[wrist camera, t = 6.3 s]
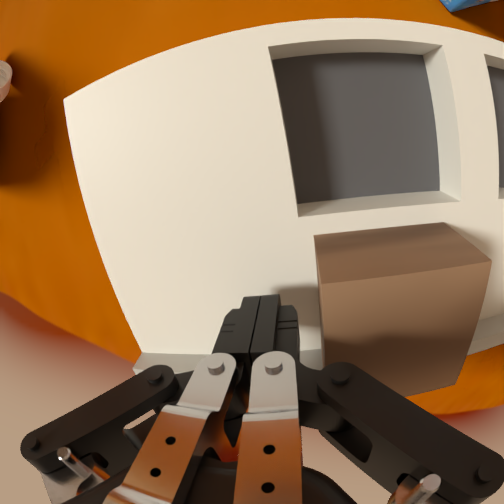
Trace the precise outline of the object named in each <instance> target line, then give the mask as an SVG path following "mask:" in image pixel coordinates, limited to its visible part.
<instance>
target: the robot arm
mask: <svg viewBox="0 0 504 504" xmlns="http://www.w3.org/2000/svg"><path fill="white" fill-rule="evenodd" d="M152 409H153V410H154V411H155V413H156V414H154V415H153V416H151V417H150V418H148V419H146V420H145V421H143V422H141V423H140V424H138V425H136V426H135V427H133V428H131V429H124V427H125V425H127V424H129V423H130V422H132V421H134V420H135V419H137V418H139V417H140V416H142V415H144V414H145V413H147V412H148V411H150V410H152ZM301 426H305V427H309V428H314V429H318V430H319V432H320V434H321V435H322V436H323V437H325V439H326V440H328V441H329V442H330V443H331V444H332V445H333V446H334V447H336V448H337V449H338V450H339V451H340V452H341V453H342V454H343V455H345V456H346V457H347V458H348V459H349V460H350V461H352V462H353V463H354V464H355V465H356V466H357V467H359V468H360V469H361V470H362V471H364V472H365V473H366V474H367V475H368V476H370V477H371V478H372V479H373V480H375V481H376V482H377V483H378V484H380V485H381V486H382V487H384V488H385V489H386V490H387V491H389V492H390V493H391V494H392V495H391V496H390V498H389V500H388V503H387V504H480V503H481V502H483V501H484V500H485V499H487V498H488V497H489V496H491V495H492V494H493V493H495V492H496V491H497V490H498V489H499V488H500V487H501V486H502V484H503V482H504V459H503V457H502V456H501V455H499V454H498V453H496V452H494V451H492V450H491V449H489V448H487V447H485V446H484V445H482V444H480V443H479V442H477V441H475V440H473V439H472V438H470V437H468V436H467V435H465V434H463V433H462V432H460V431H458V430H457V429H455V428H453V427H452V426H450V425H448V424H447V423H445V422H443V421H442V420H440V419H438V418H437V417H435V416H433V415H432V414H430V413H429V412H427V411H425V410H424V409H422V408H421V407H419V406H417V405H416V404H414V403H413V402H411V401H409V400H408V399H406V398H405V397H403V396H402V395H400V394H398V393H397V392H395V391H394V390H392V389H391V388H389V387H388V386H386V385H385V384H383V383H381V382H380V381H378V380H377V379H375V378H374V377H372V376H371V375H369V374H368V373H366V372H365V371H363V370H362V369H360V368H359V367H357V366H356V365H354V364H351V363H348V362H335V363H331V364H329V365H327V366H325V367H324V368H323V369H322V370H316V369H311V368H308V367H306V366H304V365H303V364H302V363H301V362H300V334H299V324H298V314H297V310H296V309H295V308H294V306H293V305H282V306H281V299H280V295H279V294H272V295H262V296H261V295H260V296H246V297H243V300H242V303H241V306H240V308H239V309H232V310H231V311H230V312H229V313H228V314H227V315H226V316H225V317H224V320H223V323H222V326H221V329H220V333H219V334H218V337H217V340H216V342H215V345H214V348H213V351H212V353H211V354H210V355H208V356H206V357H204V358H203V359H201V360H200V361H199V363H198V364H197V366H196V368H195V370H193V371H189V372H184V373H178V374H175V373H174V371H173V369H172V368H171V367H169V366H167V365H154V366H151V367H149V368H147V369H145V370H143V371H142V372H140V373H138V374H137V375H135V376H133V377H132V378H130V379H128V380H126V381H125V382H123V383H121V384H120V385H118V386H116V387H114V388H113V389H111V390H109V391H107V392H106V393H104V394H102V395H100V396H98V397H97V398H95V399H93V400H91V401H89V402H87V403H85V404H84V405H82V406H80V407H78V408H76V409H74V410H73V411H71V412H69V413H67V414H65V415H64V416H61V417H59V418H57V419H56V420H54V421H52V422H50V423H48V424H46V425H44V426H42V427H40V428H38V429H36V430H34V431H32V432H30V433H29V434H27V435H26V436H25V438H24V439H23V440H22V443H21V447H20V448H21V449H20V450H21V454H22V456H23V457H24V458H25V459H26V460H27V461H29V462H30V463H31V464H32V465H33V466H34V467H36V468H37V470H38V471H39V472H40V473H41V475H42V478H43V481H44V484H45V487H46V490H47V493H48V496H49V498H50V501H51V503H52V504H357V503H356V502H355V501H354V500H353V499H352V498H351V497H350V496H349V495H348V494H347V493H346V492H344V490H342V488H341V487H340V486H338V484H337V483H335V482H334V481H333V480H332V479H331V478H329V477H328V476H326V475H324V474H323V473H321V472H319V471H316V470H314V469H311V468H308V467H304V466H303V456H302V440H301V439H302V438H301Z"/></svg>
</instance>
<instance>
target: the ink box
mask: <svg viewBox="0 0 504 504" xmlns="http://www.w3.org/2000/svg"><path fill="white" fill-rule="evenodd" d="M440 1H441V2H442V3H443V4H444V6H445V7H446V8H447V9H448V10H449V11H450V12H455V11H458V10H461V9H465V8H468V7H472V6H476V5H480V4H484V3H488V2H492V1H497V0H440Z"/></svg>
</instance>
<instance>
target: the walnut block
mask: <svg viewBox="0 0 504 504" xmlns="http://www.w3.org/2000/svg"><path fill="white" fill-rule="evenodd" d="M313 236H314V246H315V257H316V269H317V282H318V296H319V312H320V330H321V350H322V364H323V368H324V367H325V366H327V365H329V364H331V363H335V362H348V363H351V364H354V365H356V366H357V367H359V368H360V369H362V370H363V371H365V372H366V373H368V374H369V375H371V376H372V377H374V378H375V379H377V380H378V381H380V382H381V383H383V384H385V385H386V386H388V387H389V388H391V389H392V390H394V391H395V392H397V393H398V394H400V395H402V396H403V397H406V396H411V395H415V394H420V393H424V392H428V391H432V390H436V389H440V388H444V387H447V386H451V385H455V383H456V381H457V379H458V376H459V374H460V371H461V369H462V366H463V364H464V361H465V359H466V356H467V353H468V351H469V348H470V345H471V342H472V339H473V336H474V333H475V330H476V327H477V323H478V320H479V316H480V313H481V309H482V305H483V302H484V298H485V293H486V289H487V285H488V280H489V275H490V270H491V265H492V260H491V259H490V258H488V257H487V256H486V255H485V254H484V253H482V252H481V251H480V250H479V249H478V248H476V247H475V246H474V245H473V244H472V243H470V242H469V241H468V240H466V239H465V238H464V237H463V236H461V235H460V234H459V233H457V232H456V231H455V230H454V229H452V228H451V227H450V226H448V225H447V224H445V223H444V222H439V223H428V224H418V225H407V226H397V227H387V228H377V229H367V230H357V231H347V232H338V233H328V234H319V235H313Z"/></svg>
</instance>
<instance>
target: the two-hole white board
mask: <svg viewBox="0 0 504 504" xmlns="http://www.w3.org/2000/svg"><path fill="white" fill-rule="evenodd" d="M63 100H64V108H65V115H66V121H67V127H68V133H69V139H70V144H71V149H72V154H73V159H74V163H75V168H76V172H77V176H78V181H79V185H80V189H81V192H82V196H83V200H84V203H85V207H86V210H87V214H88V217H89V221H90V224H91V227H92V230H93V233H94V236H95V240H96V243H97V245H98V248H99V251H100V254H101V257H102V260H103V263H104V265H105V268H106V271H107V273H108V276H109V278H110V281H111V284H112V286H113V289H114V291H115V293H116V296H117V298H118V301H119V303H120V305H121V308H122V310H123V312H124V315H125V317H126V319H127V321H128V323H129V326H130V328H131V330H132V332H133V334H134V336H135V338H136V340H137V342H138V344H139V347H140V349H141V351H142V354H141V355H140V357H139V359H138V360H137V362H136V364H135V365H134V367H133V370H134V372H135V374H136V375H137V374H138V373H140V372H142V371H143V370H145V369H147V368H149V367H151V366H154V365H167V366H169V367H171V368H172V369H173V371H174V373H175V374H178V373H184V372H189V371H193V370H195V368H196V366H197V364H198V363H199V361H200V360H201V359H203V358H204V357H206V356H208V355H210V354H211V353H212V351H213V348H214V345H215V342H216V340H217V337H218V334H219V333H220V329H221V326H222V323H223V320H224V317H225V316H226V315H227V314H228V313H229V312H230V311H231V310H232V309H239V308H240V306H241V303H242V300H243V297H246V296H260V295H261V296H262V295H272V294H279V295H280V299H281V306H282V305H293V306H294V308H295V309H296V310H297V314H298V324H299V334H300V362H301V363H302V364H303V365H304V366H306V367H308V368H311V369H316V370H322V369H323V364H322V350H321V330H320V312H319V296H318V282H317V269H316V257H315V246H314V236H313V235H319V234H328V233H338V232H347V231H357V230H367V229H377V228H387V227H397V226H407V225H418V224H428V223H439V222H444V223H445V224H447V225H448V226H450V227H451V228H452V229H454V230H455V231H456V232H457V233H459V234H460V235H461V236H463V237H464V238H465V239H466V240H468V241H469V242H470V243H472V244H473V245H474V246H475V247H476V248H478V249H479V250H480V251H481V252H482V253H484V254H485V255H486V256H487V257H488V258H490V259H491V260H492V265H491V270H490V275H489V280H488V285H487V289H486V293H485V298H484V302H483V305H482V309H481V313H480V316H479V320H478V323H477V327H476V330H475V333H474V336H473V339H472V342H471V345H470V348H469V351H468V353H467V355H470V354H473V353H476V352H479V351H482V350H486V349H489V348H492V347H495V346H497V345H500V344H503V343H504V42H501V41H498V40H495V39H492V38H489V37H485V36H482V35H478V34H474V33H471V32H466V31H462V30H458V29H453V28H448V27H443V26H438V25H432V24H425V23H418V22H410V21H401V20H389V19H370V18H334V19H315V20H303V21H293V22H285V23H277V24H270V25H264V26H258V27H253V28H247V29H242V30H238V31H233V32H229V33H224V34H220V35H216V36H212V37H209V38H205V39H202V40H198V41H195V42H191V43H188V44H185V45H182V46H179V47H176V48H173V49H170V50H167V51H164V52H161V53H159V54H156V55H153V56H151V57H148V58H146V59H143V60H141V61H138V62H136V63H134V64H131V65H129V66H127V67H124V68H122V69H120V70H118V71H116V72H114V73H111V74H109V75H107V76H105V77H103V78H101V79H99V80H97V81H95V82H93V83H92V84H90V85H88V86H86V87H84V88H82V89H80V90H79V91H77V92H75V93H73V94H72V95H70V96H68V97H67V98H65V99H63Z"/></svg>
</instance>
